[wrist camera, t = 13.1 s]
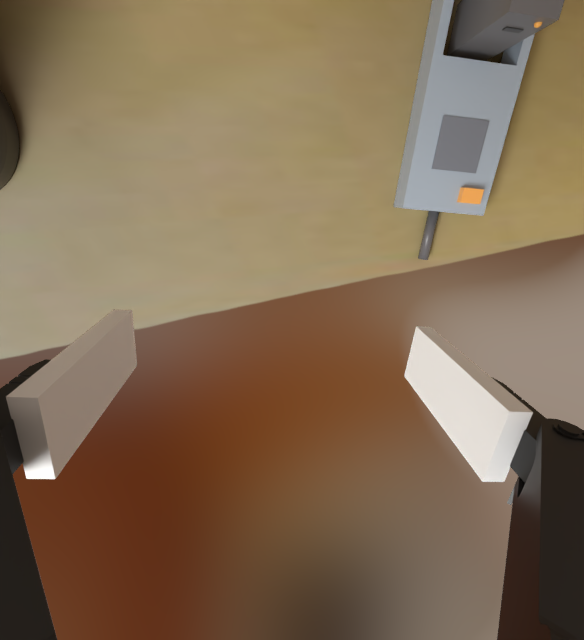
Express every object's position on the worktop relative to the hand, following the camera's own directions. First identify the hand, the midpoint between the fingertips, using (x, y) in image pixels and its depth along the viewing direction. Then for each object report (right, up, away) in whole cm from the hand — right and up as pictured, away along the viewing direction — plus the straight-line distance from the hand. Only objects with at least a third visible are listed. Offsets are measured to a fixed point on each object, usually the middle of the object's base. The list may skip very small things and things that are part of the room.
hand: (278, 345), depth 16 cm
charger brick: (+20, +32, +20) cm, 42 cm away
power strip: (+19, +23, +23) cm, 38 cm away
